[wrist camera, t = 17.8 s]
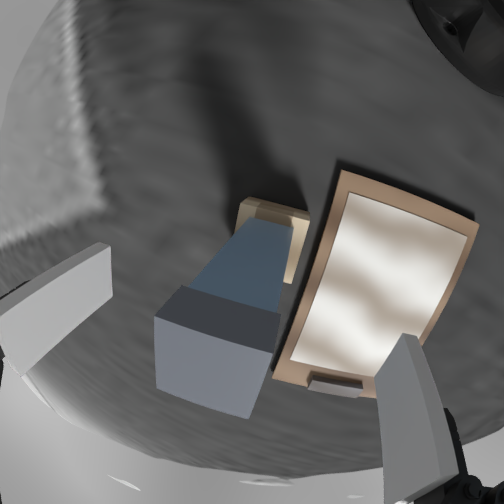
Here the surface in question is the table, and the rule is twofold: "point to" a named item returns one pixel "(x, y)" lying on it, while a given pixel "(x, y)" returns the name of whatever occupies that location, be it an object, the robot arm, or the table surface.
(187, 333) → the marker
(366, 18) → the table surface
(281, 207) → the stand
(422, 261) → the clipboard
